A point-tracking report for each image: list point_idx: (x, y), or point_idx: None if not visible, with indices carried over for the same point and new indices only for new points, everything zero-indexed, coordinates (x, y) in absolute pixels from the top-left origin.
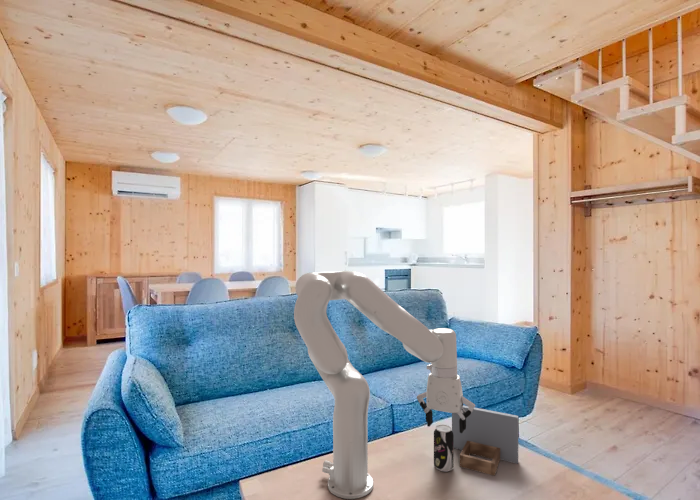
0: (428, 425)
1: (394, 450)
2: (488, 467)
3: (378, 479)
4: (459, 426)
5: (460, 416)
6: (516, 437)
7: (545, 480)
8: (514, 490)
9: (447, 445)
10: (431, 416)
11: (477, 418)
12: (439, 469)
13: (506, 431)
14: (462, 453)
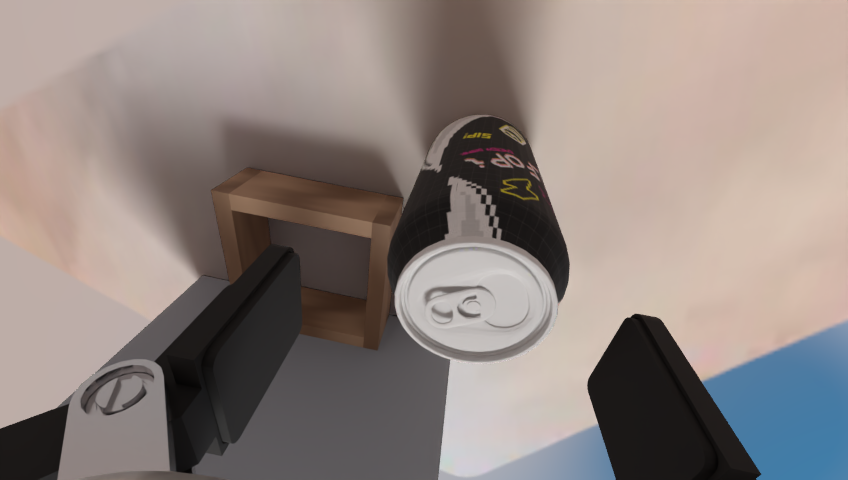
0: (649, 321)
1: (755, 256)
2: (256, 184)
3: None
4: (262, 292)
5: (147, 414)
6: (120, 357)
7: (83, 194)
8: (139, 73)
9: (438, 173)
10: (629, 439)
11: (277, 459)
12: (499, 118)
13: None
14: (379, 243)
